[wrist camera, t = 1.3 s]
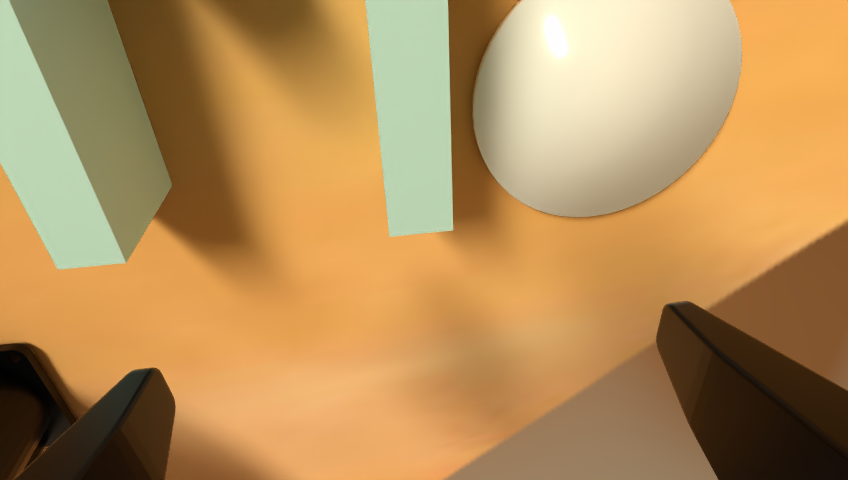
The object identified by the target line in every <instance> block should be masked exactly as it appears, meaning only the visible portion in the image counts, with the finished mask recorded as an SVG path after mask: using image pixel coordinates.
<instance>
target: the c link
mask: <svg viewBox="0 0 848 480" xmlns="http://www.w3.org/2000/svg"><path fill="white" fill-rule="evenodd" d="M365 1H366V11H367V21H368V30H369V40H370V50H371V60H372V69H373V79H374V89H375V99H376V109H377V118H378V128H379V138H380V148H381V158H382V167H383V177H384V187H385V197H386V206H387V216H388V226H389V236H390V237H391V236H401V235H411V234H422V233H432V232H442V231H452V230H453V203H452V159H451V114H450V70H449V26H448V0H365ZM0 163H1V165H2V167H3V169H4V171H5V173H6V174H7V176H8V178H9V180H10V182H11V184H12V186H13V187H14V189H15V191H16V193H17V195H18V197H19V199H20V200H21V202H22V204H23V206H24V208H25V210H26V212H27V213H28V215H29V217H30V219H31V221H32V223H33V225H34V226H35V228H36V230H37V232H38V234H39V236H40V238H41V239H42V241H43V243H44V245H45V247H46V249H47V250H48V252H49V254H50V256H51V258H52V260H53V262H54V263H55V265H56V267H57V269H58V270H59V269H69V268H79V267H89V266H99V265H109V264H120V263H126V262H127V261H128V259H129V257H130V256H131V254H132V252H133V251H134V249H135V247H136V246H137V244H138V242H139V241H140V239H141V237H142V236H143V234H144V232H145V231H146V229H147V227H148V226H149V224H150V222H151V221H152V219H153V217H154V216H155V214H156V212H157V211H158V209H159V207H160V206H161V204H162V202H163V201H164V199H165V197H166V196H167V194H168V192H169V191H170V189H171V187H172V186H173V185H172V182H171V180H170V177H169V174H168V171H167V168H166V165H165V162H164V160H163V157H162V154H161V151H160V148H159V145H158V143H157V140H156V137H155V134H154V131H153V128H152V125H151V123H150V120H149V117H148V114H147V111H146V108H145V106H144V103H143V100H142V97H141V94H140V91H139V88H138V86H137V83H136V80H135V77H134V74H133V71H132V68H131V66H130V63H129V60H128V57H127V54H126V51H125V49H124V46H123V43H122V40H121V37H120V34H119V31H118V29H117V26H116V23H115V20H114V17H113V14H112V12H111V9H110V6H109V3H108V0H0Z"/></svg>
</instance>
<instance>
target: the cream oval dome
mask: <svg viewBox="0 0 848 480" xmlns="http://www.w3.org/2000/svg"><path fill="white" fill-rule="evenodd" d="M741 62H742V42H741V34H740V29H739V24H738V20H737V17H736V14H735V12H734V9H733V6H732V4H731V2H730V1H729V0H519V1H518V2H517V3H516V4H515V5H514V6H513V8H512V9H511V10H510V11H509V13H508V14H507V15H506V16H505V18H504V19H503V20H502V22H501V23H500V25H499V26H498V28H497V30H496V31H495V33H494V34H493V36H492V38H491V40H490V42H489V44H488V46H487V48H486V50H485V52H484V55H483V57H482V60H481V63H480V66H479V69H478V72H477V76H476V81H475V86H474V91H473V103H472V115H473V127H474V132H475V137H476V141H477V144H478V147H479V150H480V152H481V155H482V157H483V160H484V161H485V163H486V165H487V167H488V169H489V171H490V172H491V174H492V175H493V177H494V178H495V179H496V180H497V182H498V183H499V184H500V185H501V186H502V187H503V188H504V189H505V190H506V191H507V192H508V193H509V194H510V195H512V196H513V197H514V198H516V199H517V200H519V201H520V202H522V203H524V204H525V205H527V206H529V207H531V208H533V209H536V210H539V211H542V212H545V213H548V214H553V215H558V216H566V217H591V216H598V215H604V214H609V213H612V212H616V211H620V210H623V209H625V208H628V207H631V206H633V205H636V204H638V203H640V202H642V201H644V200H646V199H648V198H650V197H652V196H654V195H655V194H657V193H658V192H660V191H662V190H663V189H665V188H666V187H668V186H669V185H670V184H671V183H673V182H674V181H675V180H677V179H678V178H679V177H680V176H681V175H683V174H684V173H685V172H686V171H687V170H688V169H689V168H690V167H691V166H692V165H693V164H694V163H695V162H696V161H697V160H698V159H699V158H700V156H701V155H702V154H703V153H704V152H705V150H706V149H707V148H708V146H709V145H710V144H711V142H712V141H713V140H714V138H715V137H716V135H717V133H718V132H719V130H720V128H721V127H722V125H723V123H724V121H725V119H726V117H727V115H728V113H729V110H730V108H731V106H732V103H733V100H734V97H735V94H736V91H737V87H738V82H739V78H740V73H741Z"/></svg>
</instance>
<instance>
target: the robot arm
mask: <svg viewBox="0 0 848 480" xmlns="http://www.w3.org/2000/svg"><path fill="white" fill-rule="evenodd" d="M656 342H657V347H658V350H659V353H660V355H661V358H662V360H663V363H664V365H665V367H666V370H667V372H668V375H669V377H670V380H671V382H672V385H673V387H674V389H675V392H676V395H677V397H678V399H679V402H680V404H681V407H682V409H683V412H684V414H685V416H686V419H687V421H688V423H689V425H690V427H691V429H692V431H693V433H694V435H695V437H696V439H697V441H698V443H699V444H700V446H701V448H702V450H703V452H704V454H705V456H706V457H707V459H708V461H709V463H710V465H711V467H712V468H713V470H714V472H715V474H716V476H717V478H718V480H848V390H846V389H844V388H842V387H840V386H839V385H837V384H835V383H833V382H832V381H830V380H828V379H826V378H824V377H823V376H821V375H819V374H817V373H815V372H814V371H812V370H810V369H809V368H807V367H805V366H803V365H802V364H800V363H798V362H796V361H794V360H793V359H791V358H789V357H787V356H786V355H784V354H782V353H780V352H778V351H777V350H775V349H773V348H771V347H770V346H768V345H766V344H764V343H762V342H761V341H759V340H757V339H755V338H754V337H752V336H750V335H748V334H747V333H745V332H743V331H741V330H740V329H738V328H736V327H734V326H732V325H731V324H729V323H727V322H725V321H724V320H722V319H720V318H718V317H716V316H715V315H713V314H711V313H709V312H708V311H706V310H704V309H702V308H701V307H699V306H697V305H695V304H693V303H691V302H688V301H683V302H675V303H669V304H666V305H665V306H664V308H663V311H662V315H661V319H660V323H659V327H658V332H657V337H656ZM174 417H175V400H174V397H173V395H172V393H171V391H170V389H169V387H168V385H167V383H166V381H165V379H164V377H163V375H162V373H161V372H160V370H159V369H157V368H145V369H137V370H133V371H131V372H130V373H128V374H127V375H126V376H125V377H124V378H123V379H122V380H121V381H119V382H118V383H117V384H116V385H115V386H114V387H113V388H112V389H111V390H110V391H109V392H108V393H106V394H105V395H104V396H103V397H102V398H101V399H100V400H99V401H98V402H97V403H96V404H95V405H94V406H92V407H91V408H90V409H89V410H88V411H87V412H86V413H85V414H84V415H83V416H82V417H81V418H80V419H78V420H77V421H76V419H75V418H74V416H73V415H72V413H71V412H70V410H69V408H68V407H67V405H66V404H65V402H64V401H63V399H62V397H61V396H60V394H59V393H58V391H57V390H56V388H55V387H54V385H53V383H52V382H51V380H50V379H49V377H48V376H47V374H46V373H45V371H44V369H43V368H42V366H41V365H40V363H39V362H38V360H37V359H36V357H35V355H34V354H33V352H32V351H31V350H30V349H29V348H28V347H27V346H25V345H22V344H5V345H0V480H165V476H166V470H167V463H168V456H169V450H170V443H171V437H172V430H173V423H174ZM45 446H49V447H48V448H47V449H46V450H45V451H44V452H43V453H42V454H41V452H42V451H43V449H44V447H45ZM40 454H41V455H40Z"/></svg>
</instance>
